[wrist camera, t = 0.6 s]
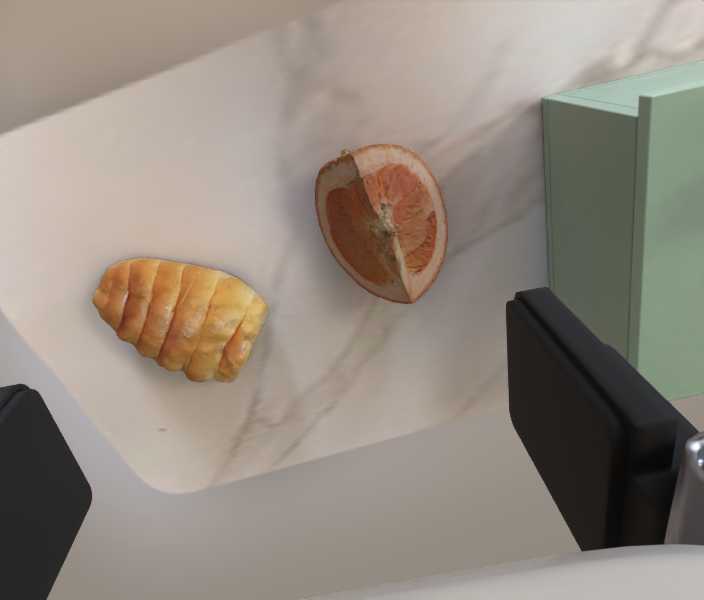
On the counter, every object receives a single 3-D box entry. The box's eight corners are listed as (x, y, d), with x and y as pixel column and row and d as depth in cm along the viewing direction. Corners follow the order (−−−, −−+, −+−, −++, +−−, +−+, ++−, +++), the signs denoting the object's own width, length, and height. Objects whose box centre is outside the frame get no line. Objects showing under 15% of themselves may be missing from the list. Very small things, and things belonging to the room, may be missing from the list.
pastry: (91, 322, 31) (64, 356, 28) (123, 224, 29) (98, 247, 25) (239, 374, 33) (232, 410, 30) (280, 287, 31) (277, 316, 28)
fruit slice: (291, 159, 28) (289, 180, 23) (408, 109, 27) (428, 121, 23) (348, 288, 31) (356, 327, 27) (452, 247, 31) (477, 280, 26)
